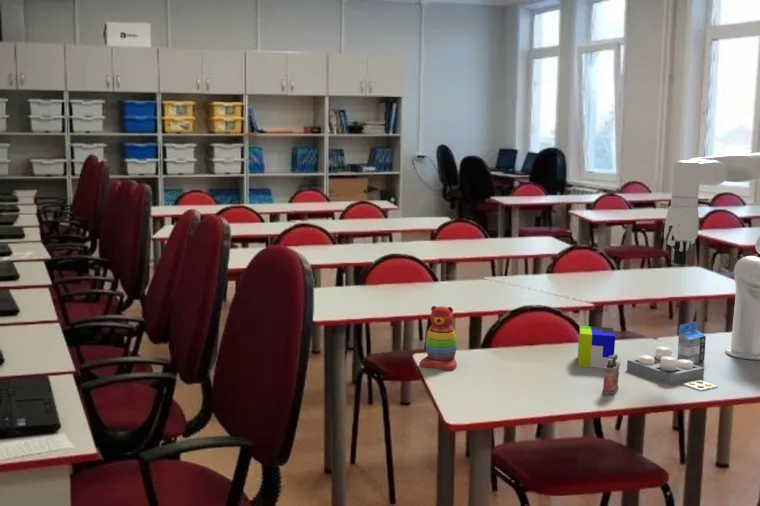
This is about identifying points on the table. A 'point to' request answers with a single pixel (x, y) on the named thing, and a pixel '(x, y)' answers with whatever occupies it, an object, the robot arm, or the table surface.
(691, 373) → the button board
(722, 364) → the table surface
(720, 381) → the table surface
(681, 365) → the button
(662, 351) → the button
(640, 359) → the button
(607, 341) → the puzzle toy
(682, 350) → the label tape box
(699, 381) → the pattern card
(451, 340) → the stacking bear
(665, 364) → the button
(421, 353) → the table surface
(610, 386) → the lighter
